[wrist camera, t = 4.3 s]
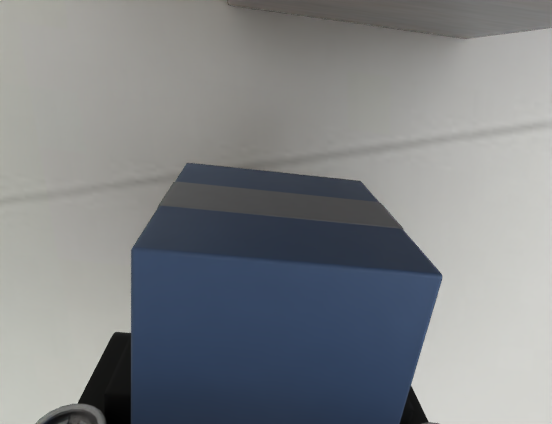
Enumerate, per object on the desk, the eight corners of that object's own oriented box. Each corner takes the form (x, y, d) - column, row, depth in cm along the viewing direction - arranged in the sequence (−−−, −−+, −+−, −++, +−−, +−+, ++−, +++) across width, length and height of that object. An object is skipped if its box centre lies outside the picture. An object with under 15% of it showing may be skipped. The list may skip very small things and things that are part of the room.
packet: (185, 160, 10) (128, 246, 6) (362, 180, 11) (446, 273, 6) (171, 455, 14) (128, 660, 9) (305, 461, 14) (331, 660, 9)
